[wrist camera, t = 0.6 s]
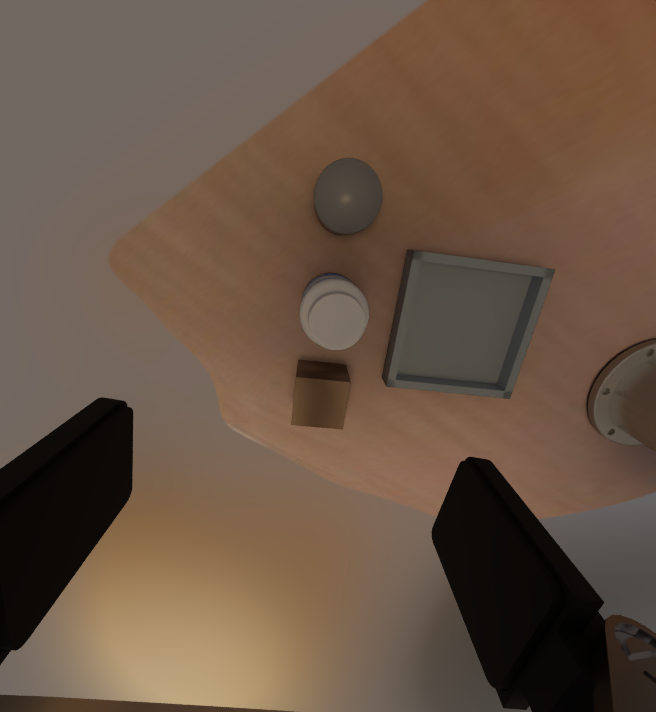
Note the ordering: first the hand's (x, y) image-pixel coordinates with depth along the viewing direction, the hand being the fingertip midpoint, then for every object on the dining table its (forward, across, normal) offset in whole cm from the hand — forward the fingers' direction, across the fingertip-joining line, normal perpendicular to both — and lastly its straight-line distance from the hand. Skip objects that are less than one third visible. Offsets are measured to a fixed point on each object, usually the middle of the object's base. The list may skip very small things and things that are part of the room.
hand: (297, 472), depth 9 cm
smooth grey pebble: (+24, -1, -10) cm, 25 cm away
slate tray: (+23, -15, -1) cm, 28 cm away
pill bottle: (+24, -2, -1) cm, 24 cm away
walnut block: (+24, -3, +8) cm, 25 cm away
